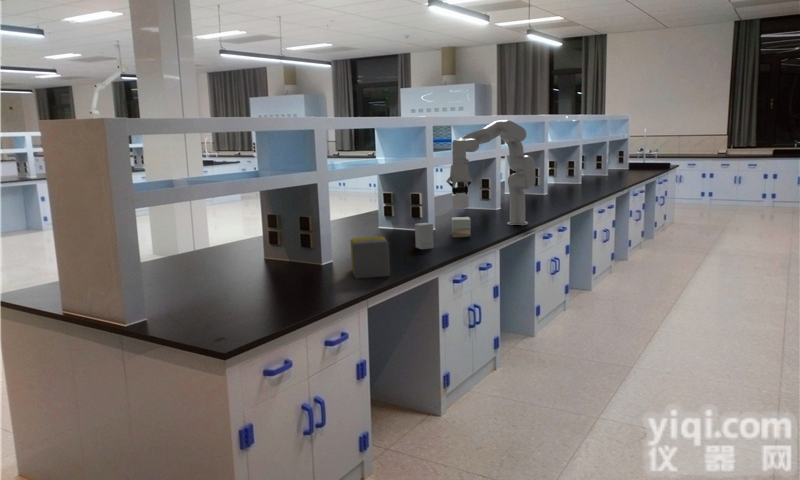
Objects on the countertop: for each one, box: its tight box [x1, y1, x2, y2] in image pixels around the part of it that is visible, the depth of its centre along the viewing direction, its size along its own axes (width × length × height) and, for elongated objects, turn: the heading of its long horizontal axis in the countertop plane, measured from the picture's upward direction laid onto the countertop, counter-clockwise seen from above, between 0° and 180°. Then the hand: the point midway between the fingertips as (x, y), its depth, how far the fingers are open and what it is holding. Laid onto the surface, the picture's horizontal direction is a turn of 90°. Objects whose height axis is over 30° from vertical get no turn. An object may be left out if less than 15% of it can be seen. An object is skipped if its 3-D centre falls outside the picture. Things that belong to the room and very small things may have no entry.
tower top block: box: [451, 216, 472, 229], centre depth 348 cm, size 10×10×5 cm
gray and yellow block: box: [350, 235, 391, 280], centre depth 268 cm, size 15×24×15 cm, turn 9°
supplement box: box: [414, 222, 435, 250], centre depth 316 cm, size 7×7×13 cm
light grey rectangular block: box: [451, 186, 470, 210], centre depth 346 cm, size 7×7×12 cm
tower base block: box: [451, 227, 471, 238], centre depth 349 cm, size 10×10×5 cm
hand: (460, 193), depth 345 cm, fingers closed on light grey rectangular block, 6 cm apart
